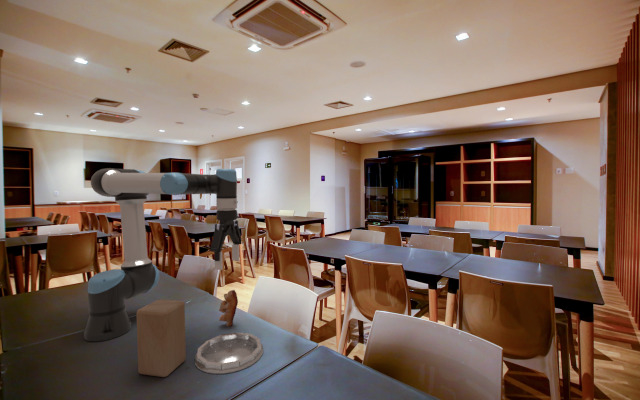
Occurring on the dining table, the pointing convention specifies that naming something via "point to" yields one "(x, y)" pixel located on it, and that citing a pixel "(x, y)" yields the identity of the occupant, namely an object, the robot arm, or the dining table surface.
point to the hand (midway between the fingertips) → (227, 264)
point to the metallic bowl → (228, 353)
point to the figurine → (228, 307)
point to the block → (161, 337)
